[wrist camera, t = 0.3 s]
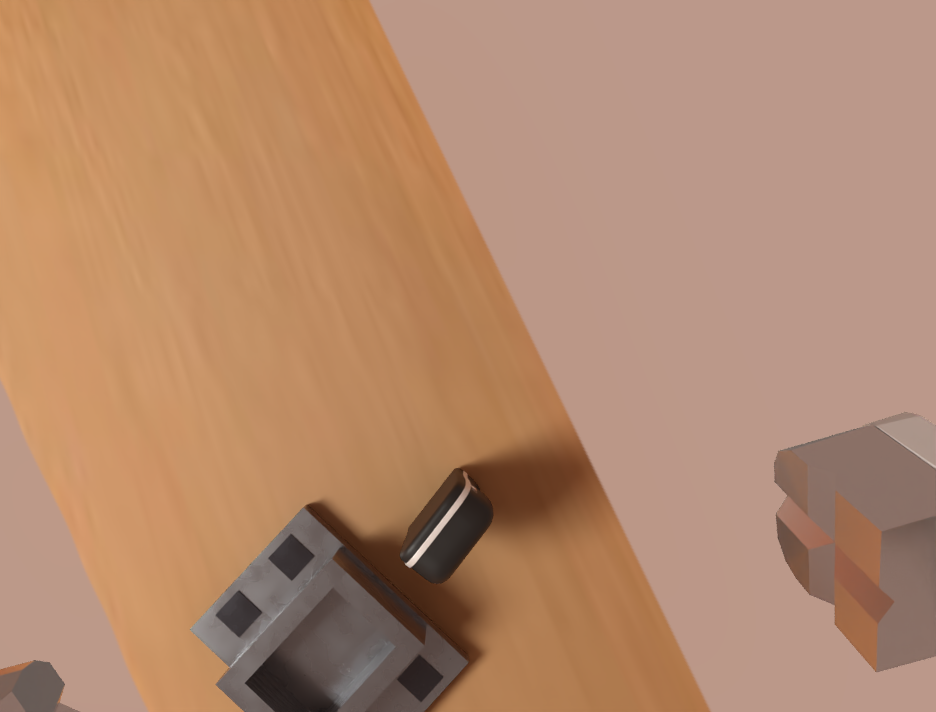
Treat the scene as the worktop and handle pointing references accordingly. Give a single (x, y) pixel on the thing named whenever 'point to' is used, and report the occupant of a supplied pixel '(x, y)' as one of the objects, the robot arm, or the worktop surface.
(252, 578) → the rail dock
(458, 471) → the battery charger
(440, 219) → the worktop surface
